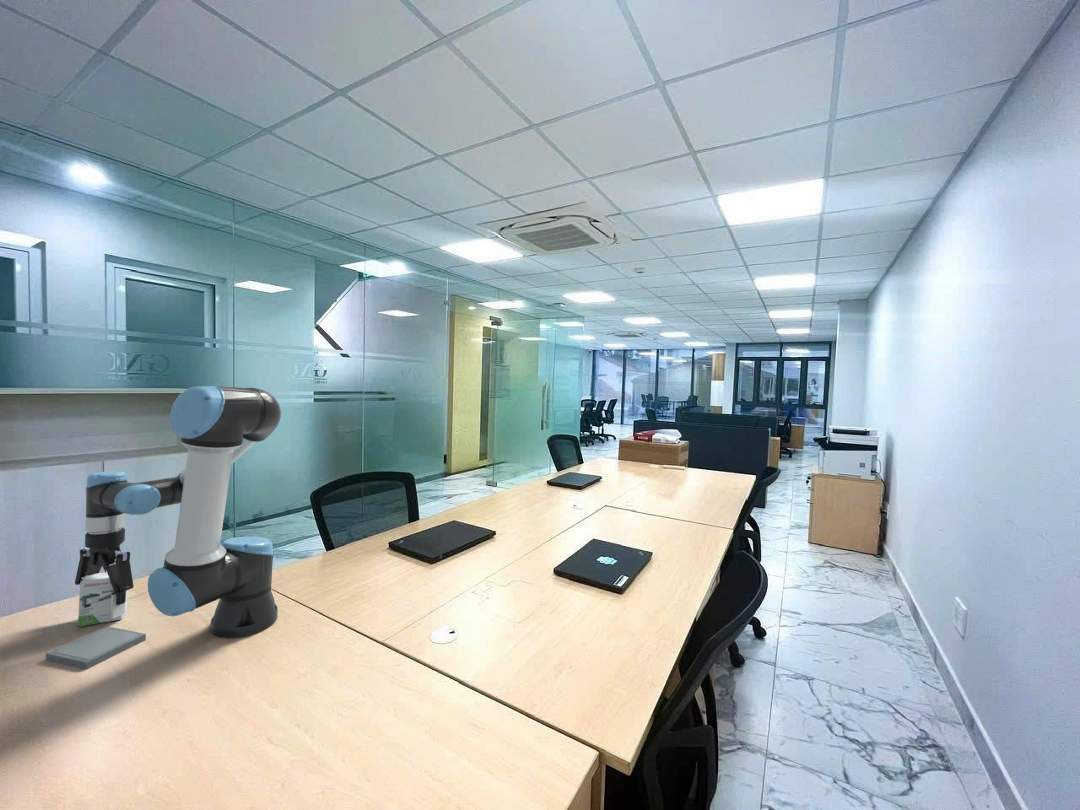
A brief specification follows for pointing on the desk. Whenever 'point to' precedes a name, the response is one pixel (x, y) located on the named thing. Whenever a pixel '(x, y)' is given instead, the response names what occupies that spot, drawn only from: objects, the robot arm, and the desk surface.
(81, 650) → the slate pad
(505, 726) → the desk surface
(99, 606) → the ink box
